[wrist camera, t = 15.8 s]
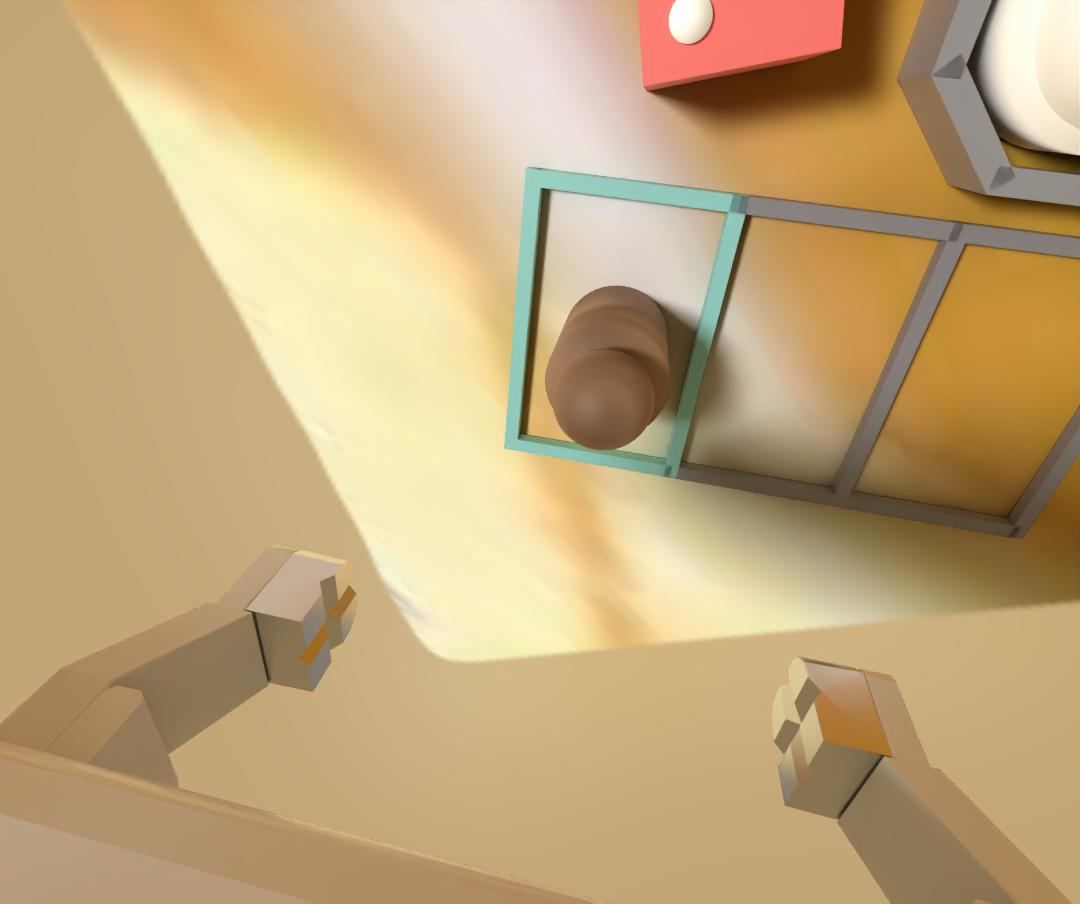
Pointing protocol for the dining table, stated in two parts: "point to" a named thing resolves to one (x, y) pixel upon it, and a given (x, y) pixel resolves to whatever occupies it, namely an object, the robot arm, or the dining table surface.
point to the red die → (732, 36)
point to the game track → (951, 243)
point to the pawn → (609, 368)
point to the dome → (1031, 72)
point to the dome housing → (967, 110)
